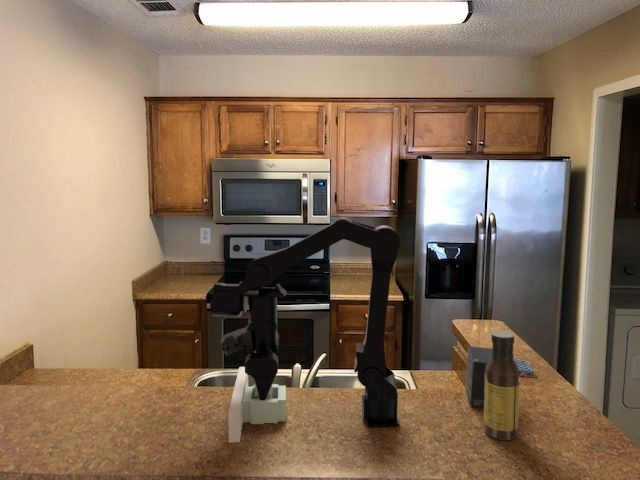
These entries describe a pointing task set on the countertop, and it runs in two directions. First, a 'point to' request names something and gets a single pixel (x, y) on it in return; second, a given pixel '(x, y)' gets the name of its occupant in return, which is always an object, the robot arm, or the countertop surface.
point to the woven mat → (524, 368)
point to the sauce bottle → (501, 389)
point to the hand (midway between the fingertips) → (263, 390)
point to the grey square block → (269, 396)
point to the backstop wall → (237, 406)
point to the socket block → (264, 406)
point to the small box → (477, 374)
